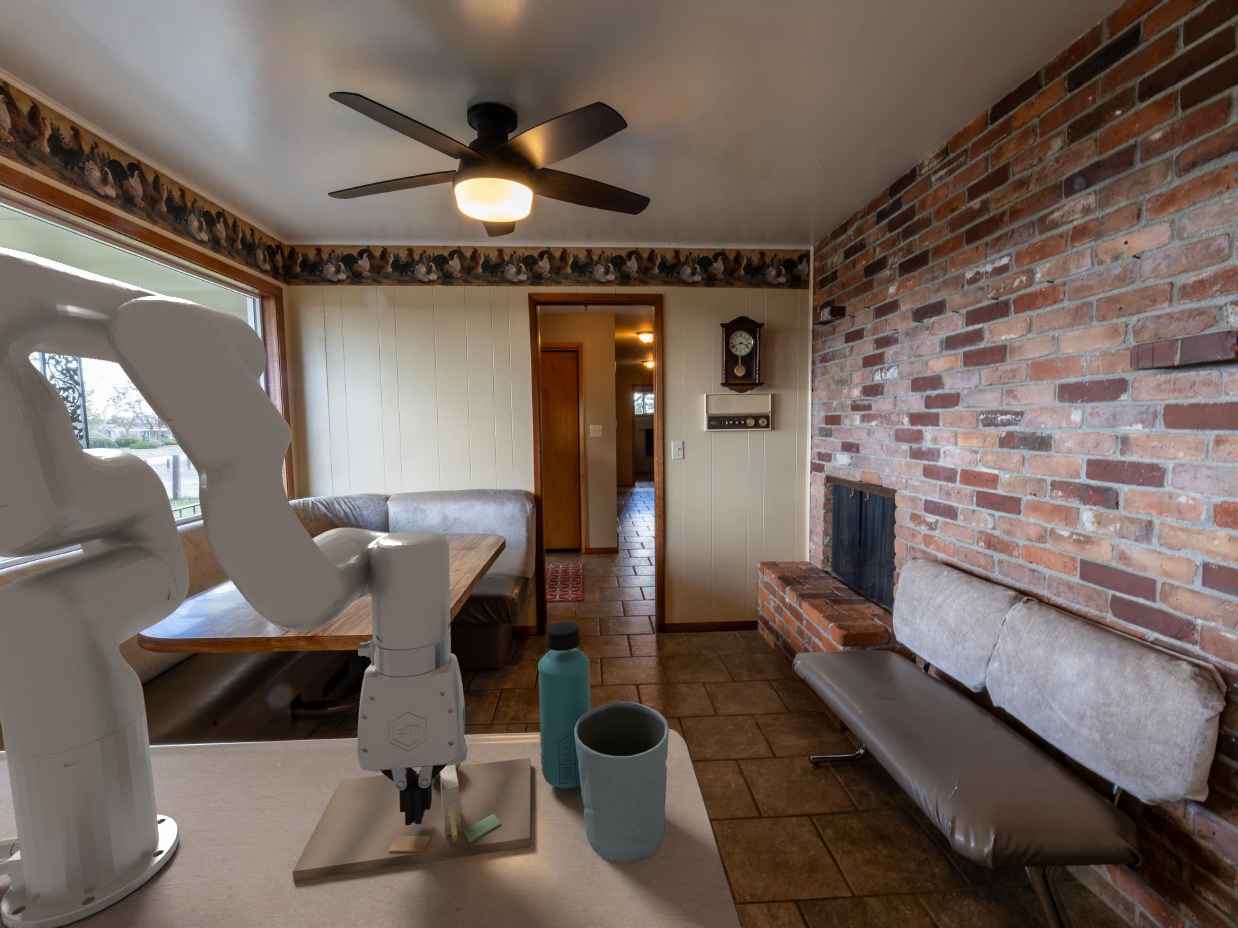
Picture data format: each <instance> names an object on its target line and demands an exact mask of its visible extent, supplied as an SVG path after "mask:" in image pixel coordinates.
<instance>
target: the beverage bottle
mask: <svg viewBox="0 0 1238 928" xmlns="http://www.w3.org/2000/svg"><path fill="white" fill-rule="evenodd" d="M545 632H546V635H545V636H546V637H545V646H546V648H547V649H548V650H549V649H550V650H549V651H548V652H545V654H544V655H543V656H542V657H541V659H540V660H538V663H537V670H538V687H539V688H538V689H539V691H538V692H539V729H540V730H539V732H540V734H539V737H540V738H539V742H540V743H539V744H540V750H541V751H540V752H539V753H540V757H541V760H540V763H541V764H540V765H541V766H540V769H541V770H540V771H541V773H542V776H543V778H544V780H545V781H546V782H547V783H548V784H549V785H550V786H552V787H556V788H559V789H571V788H574V787H577V786H581V785H580V772H579V762H578V758H577V751H576V744H575V736H574V729H575V725H576V723H577V721H578V720H579V718H580V717H581V716H582V715H583V714H584V713H586V712H587V711H589V710H590V709H592V707H591V706H592V702H593V700H591V699H592V697H591V687H592V686H591V684H590V683H591V682H590V679H591V678H590V665H591V663H590V659H589V657H588V655H586V654H585V653H584V652H583V651H582V650H580V649H579V648H578V647H579V646H580V645H581V637H580V629H579V626H578V624H576V623H573V622H572V621H571V622H570V621H561V622H554V623H552V624H550V625H548V627H547V628H546V631H545Z"/></svg>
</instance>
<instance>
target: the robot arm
mask: <svg viewBox="0 0 1238 928" xmlns="http://www.w3.org/2000/svg"><path fill="white" fill-rule="evenodd" d="M35 352H36V353H44V354H51V355H57V356H64V357H65V356H67V357H75V358H81V359H82V358H83V359H90V360H91V359H92V360H98V361H99V360H100V361H105V362H111V363H115V364H118V365H119V366H120V367H121V369H122V370H123V372H124V373H125V374H126V376H127V377H128V378H129V380H130V381H131V383H132V384H133V385H134V387H135V388H136V389H137V391H138V392H139V394H140V395H141V396H142V398H143V399H144V400H145V402H146V403H147V405H149V407H150V408H151V410H152V411H153V412H154V414H155V415H156V417H157V418H158V419H159V421H160V422H161V423H162V424H163V426H164V428H166V430H167V431H168V433H169V434H170V435H171V437H172V439H174V441H175V442H176V444H177V446H179V448H180V449H181V450H182V452H183V453H184V454H185V456H186V457H187V459H188V460H189V462H190V463H191V465H192V466H193V467H194V469H195V471H196V473H197V476H198V500H199V501H198V502H199V507H200V513H201V519H202V522H203V523H202V524H203V528H204V533H205V537H206V539H207V540H206V541H207V543H208V545H209V548H210V550H211V553H212V554H213V556H214V558H215V560H216V561H217V563H218V564H219V566H220V568H221V569H222V570H223V572H224V573H225V575H227V578H228V579H229V580H230V581H231V583H232V584H233V585H234V586H235V588H236V589H237V590H238V592H239V593H240V594H241V596H242V597H243V598H244V600H245V601H246V602H247V603H248V604H249V605H250V607H252V608H253V610H254V611H255V612H256V613H257V614H259V615H260V617H262V618H263V619H265V620H266V621H267V622H268V623H270V624H272V625H274V626H276V627H277V628H279V629H282V630H285V631H287V632H295V633H296V632H297V633H303V632H311V631H315V630H318V629H320V628H323V627H325V626H326V625H329V624H330V623H331V622H333V621H334V620H335V619H337V618H338V617H339V616H340V615H342V614H343V613H344V612H345V611H346V610H347V609H348V608H349V607H350V606H351V605H352V604H354V602H356V601H358V600H360V599H362V598H365V597H366V596H368V597H370V598H371V622H372V623H371V626H372V638H371V640H368V641H365V642H360V643H359V644H358V648H357V654H358V657H364V656H365V657H366V658H369V660H370V662H371V663H370V664H369V666H368V667H366V669H365V671H364V674H363V679H362V683H361V684H362V686H361V692H360V698H359V708H358V709H359V710H358V723H357V739H356V741H357V744H356V754H357V763H358V765H359V767H360V769H361V770H363V771H367V772H368V771H369V772H376V773H379V772H381V774H382V775H385V776H387V777H388V778H389V779H391V780H392V781H393V782H394V784H395V788H396V789H397V790H399V795H400V812H405V825H411V823H413V822H414V823H416V824H421V823H422V819H423V816H424V812H425V810H430V807H431V802H432V780H433V779H434V778H435V777H436V776H437V775H438V774H439V773H440V772H441V771H442V770H443V769H444V768H445V766H448V765H449V766H451V765H454V764H457V763H463V762H465V761H466V759H467V755H468V746H467V742H466V738H465V736H464V735H465V733H466V710H465V709H466V708H465V707H466V706H465V696H464V690H463V689H464V687H463V682H462V674H461V670H460V665H459V661H458V657H457V656H456V655H455V654H454V653H452V650H451V649H452V645H451V643H452V642H451V640H452V639H451V638H452V637H451V636H452V635H451V581H450V580H451V579H450V578H451V577H450V575H451V574H450V573H451V572H450V563H451V561H450V547H449V546H450V545H449V542H448V541H447V539H446V538H445V536H444V535H442V534H440V533H438V532H436V531H435V532H434V531H430V530H406V531H398V532H387V531H377V530H371V529H366V528H365V529H364V528H359V527H357V528H356V527H337V528H333V529H330V530H327V531H324V532H322V533H321V534H319V535H316V536H314V537H312V536H311V535H310V533H309V532H308V531H307V529H306V528H305V526H304V525H303V524H302V522H301V521H300V519H299V517H298V516H297V514H296V513H295V511H294V509H293V506H291V502H290V500H289V498H288V495H287V493H286V489H285V485H284V478H283V466H284V463H285V457H286V455H287V452H288V450H289V447H290V446H291V445H290V444H291V442H292V437H293V433H292V428H291V427H290V425H289V423H288V422H287V421H286V419H285V418H284V416H283V414H282V413H281V412H280V411H279V409H278V408H277V406H276V405H275V403H274V402H273V401H272V400H271V398H270V397H269V396H268V394H267V393H266V391H265V390H264V389H263V387H262V385H261V384H260V382H259V379H260V378H261V376H262V375H263V373H264V371H265V368H266V365H267V352H266V348H265V345H264V343H263V340H262V339H261V336H260V335H259V334H258V333H257V331H256V330H254V328H253V327H252V326H251V325H250V324H248V323H247V322H246V321H245V320H243V319H242V318H239V317H238V316H237V315H234V314H231V313H229V312H227V311H226V312H225V311H222V310H220V309H216V308H213V307H209V306H206V305H204V304H201V303H197V302H193V301H190V300H186V299H183V298H178V297H172V296H166V295H163V294H159V293H157V292H154V291H150V290H147V289H143V288H141V287H139V286H138V287H137V286H134V285H131V284H128V283H125V282H121V281H118V280H116V279H113V278H112V279H111V278H108V277H105V276H101V275H98V274H95V273H91V272H89V271H85V270H82V269H78V268H75V267H72V266H69V265H66V264H63V263H61V262H60V263H59V262H57V261H53V260H50V259H47V258H44V257H42V256H41V257H39V256H36V255H33V254H30V253H27V252H22V251H18V250H12V249H8V248H4V247H0V558H7V559H8V558H26V557H33V556H38V555H44V554H49V553H51V552H55V551H59V550H64V549H68V548H71V547H74V546H78V545H80V547H81V550H82V553H83V555H84V556H82V557H78V558H75V559H71V560H68V561H65V562H62V563H59V564H55V565H51V566H48V567H45V568H42V569H39V570H36V571H33V572H31V573H29V574H26V575H23V576H21V577H19V578H16V579H15V580H13V581H11V582H9V583H6V584H5V585H3V586H1V587H0V725H1V731H2V737H3V745H4V752H5V755H6V756H5V757H6V763H7V768H8V776H9V777H8V778H9V785H10V791H11V797H12V805H13V812H14V813H13V814H14V819H15V828H16V833H17V834H16V836H8V837H1V838H0V876H2V875H7V876H8V877H9V879H10V880H9V881H10V887H8V889H7V891H6V892H5V893H4V895H3V897H2V900H1V903H0V914H1V920H2V922H3V924H4V925H5V926H6V927H7V928H58V927H62V926H66V925H68V924H71V923H74V922H77V921H79V920H82V919H85V918H87V917H90V916H92V915H94V914H96V913H98V912H100V911H103V910H104V909H106V908H107V907H108V908H109V906H111V905H114V904H115V903H117V902H119V901H120V900H122V899H124V898H125V897H127V896H128V895H129V894H131V893H133V892H135V890H137V889H138V888H139V887H141V886H142V885H144V884H145V883H146V882H147V881H149V880H150V879H151V878H152V877H154V876H155V875H156V873H157V872H159V871H160V870H161V869H162V868H163V867H164V866H165V864H166V863H167V862H168V861H169V860H170V858H171V857H172V855H173V854H174V852H175V851H176V849H177V847H178V844H179V841H180V833H179V826H178V823H177V822H176V821H175V820H174V818H173V817H170V816H168V815H167V816H166V815H162V814H158V813H157V804H156V793H155V784H154V775H153V766H152V765H153V764H152V758H151V748H150V747H151V746H150V740H149V739H150V738H149V730H148V728H149V727H148V721H147V712H146V711H147V710H146V704H145V697H144V690H143V685H142V682H141V680H140V678H139V675H138V674H137V672H136V671H135V670H134V668H133V667H132V666H131V665H130V664H129V663H128V662H127V661H126V659H125V658H124V657H123V655H122V653H121V651H120V645H121V644H123V643H124V642H125V641H128V640H130V639H131V638H132V637H135V636H136V635H137V634H140V633H142V632H144V631H145V630H147V629H149V628H151V627H153V626H155V625H157V624H158V623H160V622H161V621H163V620H165V619H168V617H170V616H171V615H172V614H174V613H175V612H176V611H177V610H178V609H179V608H180V607H181V605H182V604H183V603H184V601H185V600H186V597H187V595H188V592H189V588H190V571H189V567H188V566H189V565H188V561H187V558H186V554H185V552H184V551H185V550H184V547H183V544H182V539H181V537H180V533H179V530H178V529H179V528H178V525H177V522H176V519H175V515H174V513H173V509H172V505H171V502H170V499H169V495H168V492H167V490H166V487H165V484H164V483H163V480H162V479H161V477H160V476H159V474H157V472H156V471H155V469H154V468H153V467H152V466H150V464H149V463H148V462H146V461H145V460H144V459H142V458H141V457H139V456H137V455H135V454H132V453H130V452H127V451H126V450H125V451H124V450H120V449H114V448H107V447H106V448H105V447H104V448H103V447H102V448H100V447H98V448H85V449H83V448H82V446H81V444H80V441H79V439H78V438H77V437H78V436H77V435H76V431H75V429H74V426H73V422H72V419H71V414H70V411H69V408H68V406H67V404H66V402H65V400H64V399H63V397H62V396H61V394H60V392H59V391H58V390H57V389H56V387H55V386H54V385H53V383H51V381H50V380H49V379H48V378H47V377H46V376H45V375H44V374H43V373H42V372H41V371H40V370H39V369H38V368H37V367H36V366H34V364H33V363H32V361H31V360H30V356H31V355H32V354H33V353H35ZM414 768H420V769H419V770H418V771H419V774H418V773H416V771H417V770H415V769H414Z"/></svg>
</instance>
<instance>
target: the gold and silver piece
mask: <svg viewBox="0 0 1238 928" xmlns="http://www.w3.org/2000/svg"><path fill="white" fill-rule="evenodd" d="M461 763H462V762H461ZM461 763H457V764H454V765H451V766H449V765H448V766H445V768H444V769H443V770H442V771H441V772H440V773H439V774H438V775H437V776H436V777H435V778H440V784H441V803H442V815H443V823H444V831H445V836H446V835H450V834H451V835H452V841H455V840H458V839H457V832H459V831H461V821H460V800H459V784H458V779H457V773H456V771H457V770H458V769H459V767H460V766H462V765H461Z"/></svg>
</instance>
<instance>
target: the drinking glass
mask: <svg viewBox="0 0 1238 928" xmlns="http://www.w3.org/2000/svg"><path fill="white" fill-rule="evenodd" d="M669 732H670V728H669V724H668V721H667V720H666V717H664V716H663V714H661V713H660V712H659V711H657V710H656V709H654V708H652V707H650V706H648V705H645V704H641V703H639V702H634V701H614V702H607V703H602V704H600V705H597V706H594V707H591V709H590V710H589V711H587V712H586V713H584V714H583V715H582V716H581V717H580V718H579V720H578V721H577V723H576V725H575V729H574V736H575V744H576V751H577V758H578V762H579V772H580V785H579V786H580V789H581V790H580V791H581V792H580V793H581V799H582V804H583V807H584V810H583V818H584V819H583V820H584V826H585V827H584V828H585V834H586V837H587V841H588V843H589V845H590V847H591V848H592V849H593V850H594V852H596V853H597V854H598V855H599V856H600V857H601V858H603V859H606V860H609V861H611V862H615V863H625V864H627V863H633V862H637V861H640V860H643V859H644V858H648V857H649V856H651V855H652V854H653V853H655V852H656V850H658V848H659V847H660V845H661V843H662V841H663V838H664V834H665V821H666V798H667V780H668V774H667V773H668V767H667V765H666V763H667V760H668V751H669V750H668V749H669V735H670V734H669Z"/></svg>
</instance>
